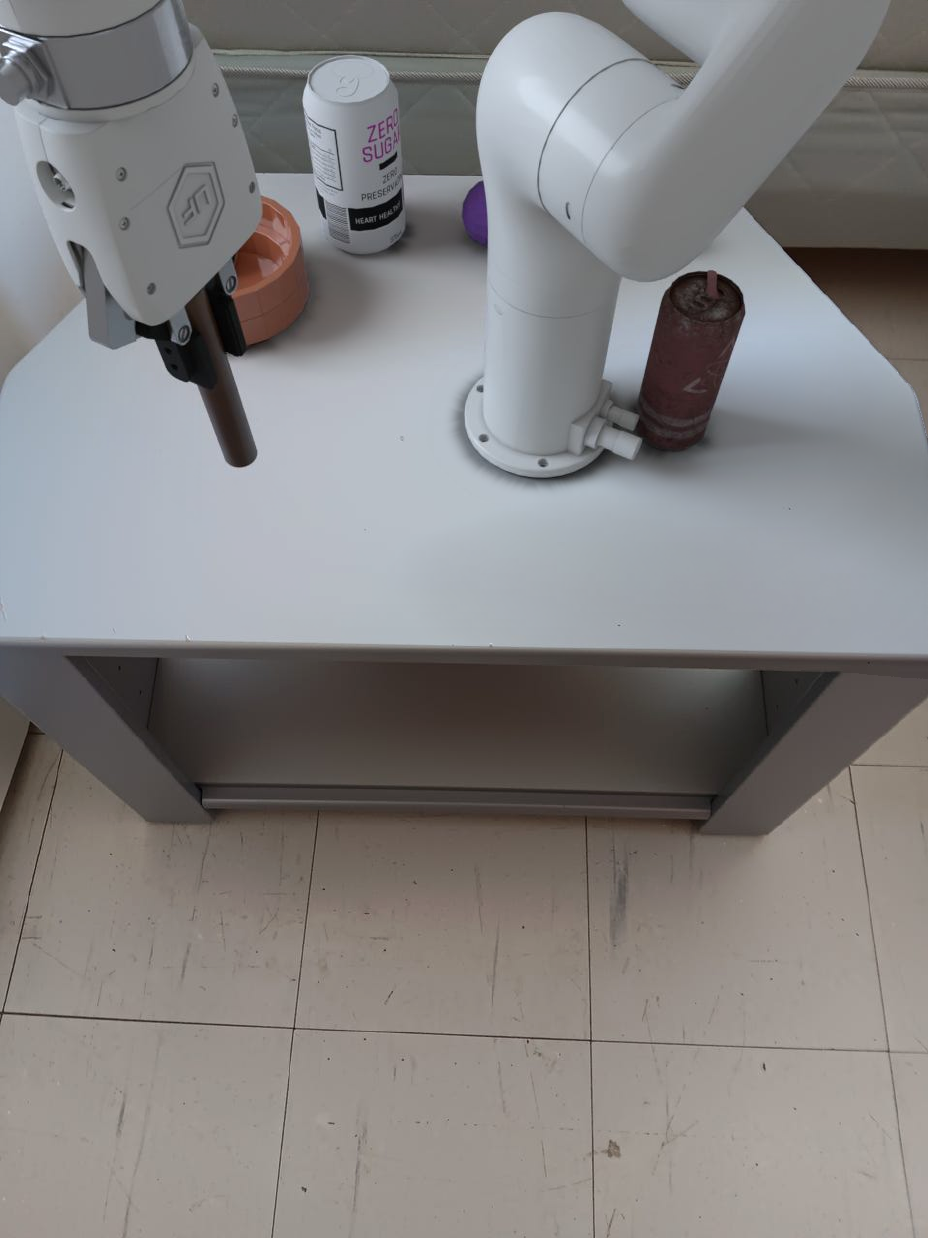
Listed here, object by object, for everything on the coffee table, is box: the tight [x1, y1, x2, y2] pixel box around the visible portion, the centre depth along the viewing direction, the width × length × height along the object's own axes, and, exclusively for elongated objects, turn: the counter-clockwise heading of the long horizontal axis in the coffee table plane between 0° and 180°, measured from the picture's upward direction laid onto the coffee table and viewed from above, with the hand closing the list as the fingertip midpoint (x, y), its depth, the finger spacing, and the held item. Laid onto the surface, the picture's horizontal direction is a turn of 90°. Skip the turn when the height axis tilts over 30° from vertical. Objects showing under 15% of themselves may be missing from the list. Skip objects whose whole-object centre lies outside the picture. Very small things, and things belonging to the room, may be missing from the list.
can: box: [634, 269, 747, 452], centre depth 72 cm, size 6×6×14 cm
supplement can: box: [302, 54, 407, 255], centre depth 84 cm, size 8×8×15 cm
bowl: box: [231, 194, 310, 347], centre depth 83 cm, size 15×15×6 cm
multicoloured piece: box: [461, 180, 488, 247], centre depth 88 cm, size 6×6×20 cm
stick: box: [184, 286, 259, 469], centre depth 55 cm, size 2×2×14 cm
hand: (208, 360), depth 53 cm, fingers closed on stick, 2 cm apart
